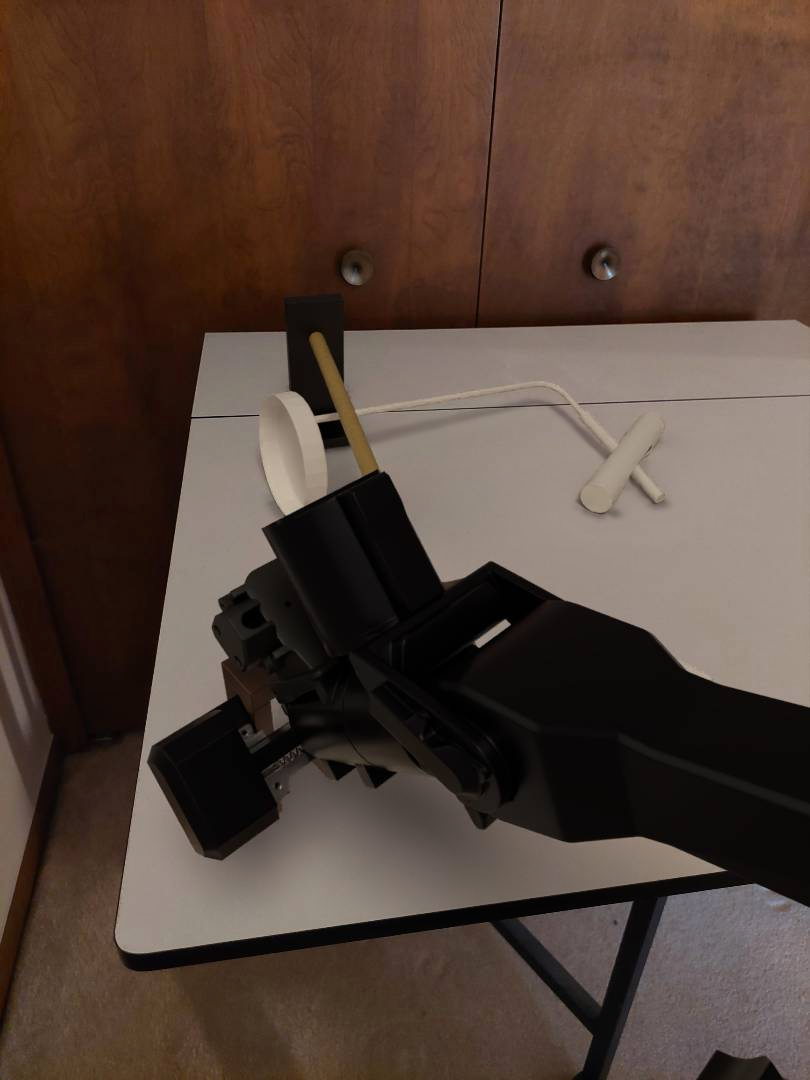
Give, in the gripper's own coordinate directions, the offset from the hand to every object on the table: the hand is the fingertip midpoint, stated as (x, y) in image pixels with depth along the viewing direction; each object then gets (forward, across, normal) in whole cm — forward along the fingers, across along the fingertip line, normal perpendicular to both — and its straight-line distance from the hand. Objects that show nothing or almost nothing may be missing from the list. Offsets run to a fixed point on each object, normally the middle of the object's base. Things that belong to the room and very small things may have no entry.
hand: (274, 705), depth 50 cm
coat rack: (+21, -22, -5) cm, 31 cm away
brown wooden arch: (+4, 0, +6) cm, 7 cm away
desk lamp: (+20, -40, -4) cm, 45 cm away
